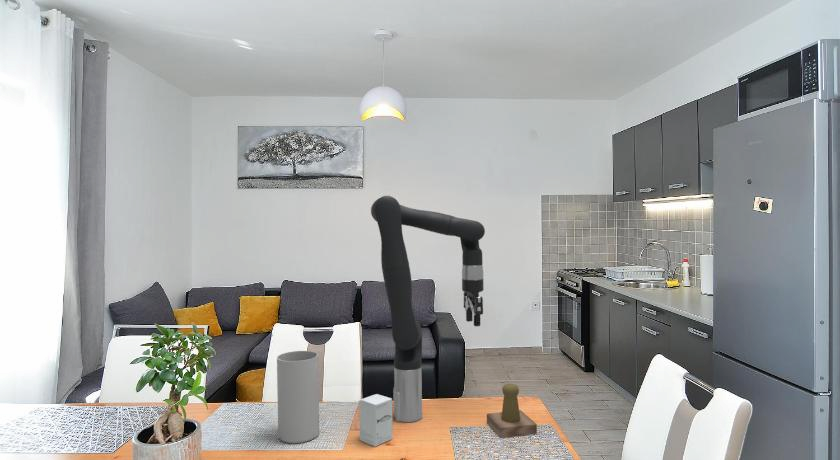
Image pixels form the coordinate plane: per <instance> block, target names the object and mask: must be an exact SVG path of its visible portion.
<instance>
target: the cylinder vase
mask: <svg viewBox="0 0 840 460" xmlns="http://www.w3.org/2000/svg"><path fill="white" fill-rule="evenodd" d="M276 374H277V376H276V378H277V379H276V380H277V381H276V382H277V384H276V385H277V388H276V389H277V436H278V439H279V440H280V441H281V442H283V443H288V444H301V443H306V442H310V441H312V440H314V439H316V438H317V436H319V434H320V389H319V388H320V387H319V384H320V382H319V354H318V352H315V351H313V350H312V351H311V350H294V351H288V352H283V353H281V354H279V355H277V356H276Z"/></svg>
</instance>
